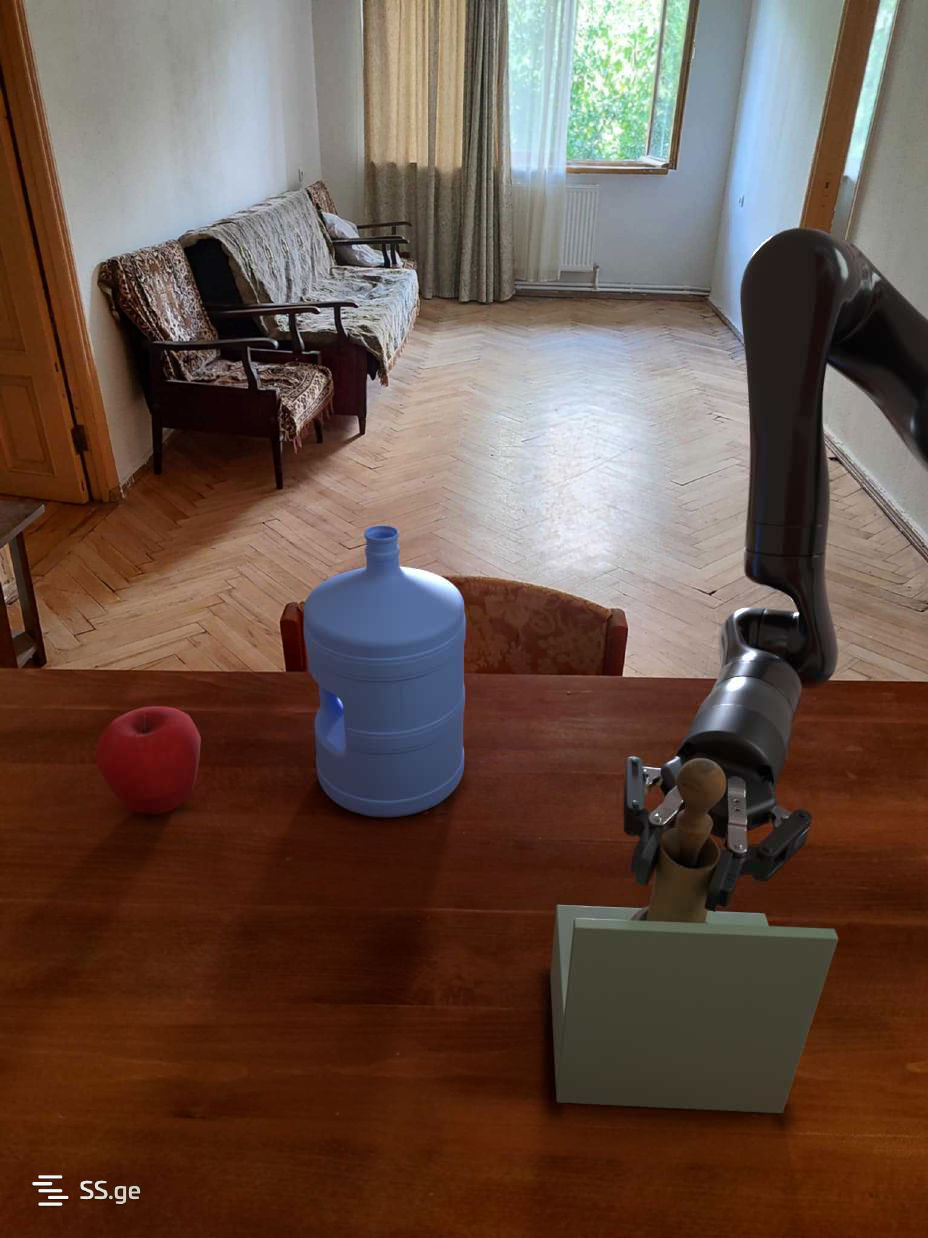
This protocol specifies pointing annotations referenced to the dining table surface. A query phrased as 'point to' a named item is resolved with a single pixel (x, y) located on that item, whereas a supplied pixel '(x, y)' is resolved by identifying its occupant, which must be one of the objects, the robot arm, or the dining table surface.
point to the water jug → (387, 683)
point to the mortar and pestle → (687, 849)
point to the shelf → (682, 1008)
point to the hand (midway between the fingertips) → (677, 887)
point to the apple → (150, 758)
